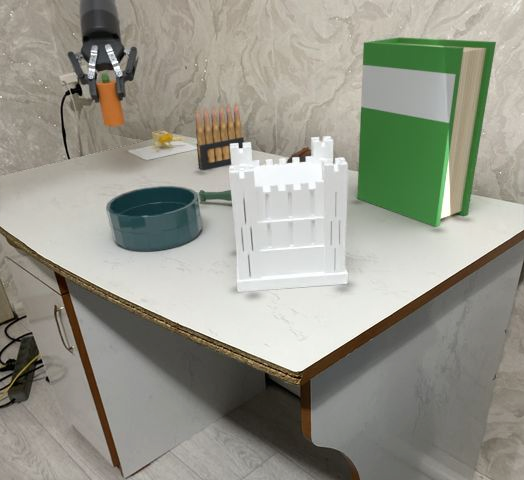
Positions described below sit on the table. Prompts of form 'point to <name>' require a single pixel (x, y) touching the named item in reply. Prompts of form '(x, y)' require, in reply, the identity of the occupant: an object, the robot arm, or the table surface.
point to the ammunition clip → (217, 137)
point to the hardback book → (422, 124)
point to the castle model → (289, 219)
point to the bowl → (154, 218)
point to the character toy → (163, 146)
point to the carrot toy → (110, 102)
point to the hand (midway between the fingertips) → (108, 98)
